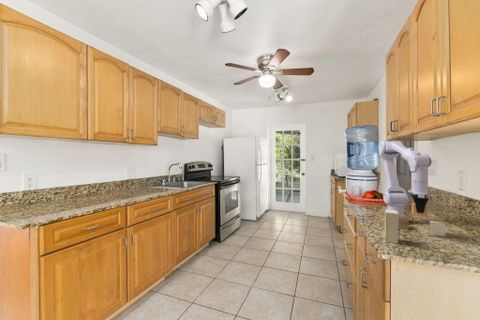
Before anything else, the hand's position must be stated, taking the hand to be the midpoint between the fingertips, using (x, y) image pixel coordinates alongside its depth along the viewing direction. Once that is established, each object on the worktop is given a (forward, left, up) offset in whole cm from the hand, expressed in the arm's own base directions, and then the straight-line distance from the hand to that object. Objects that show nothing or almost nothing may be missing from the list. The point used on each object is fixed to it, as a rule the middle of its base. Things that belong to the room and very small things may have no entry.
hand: (419, 211), depth 97 cm
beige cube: (-4, +7, -10) cm, 13 cm away
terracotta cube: (0, 0, -2) cm, 2 cm away
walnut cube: (-6, -6, -10) cm, 13 cm away
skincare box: (+17, -10, -10) cm, 22 cm away
